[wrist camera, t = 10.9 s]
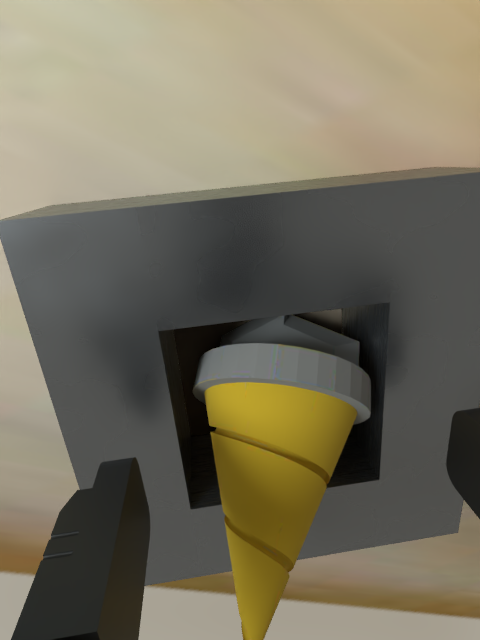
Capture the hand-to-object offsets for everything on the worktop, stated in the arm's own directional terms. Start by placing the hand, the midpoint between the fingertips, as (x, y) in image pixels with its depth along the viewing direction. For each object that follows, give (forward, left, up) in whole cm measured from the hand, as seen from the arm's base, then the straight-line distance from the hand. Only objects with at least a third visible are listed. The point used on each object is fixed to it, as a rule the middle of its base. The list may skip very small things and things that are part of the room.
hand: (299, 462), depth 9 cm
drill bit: (0, +1, -6) cm, 6 cm away
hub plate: (0, 0, -5) cm, 5 cm away
